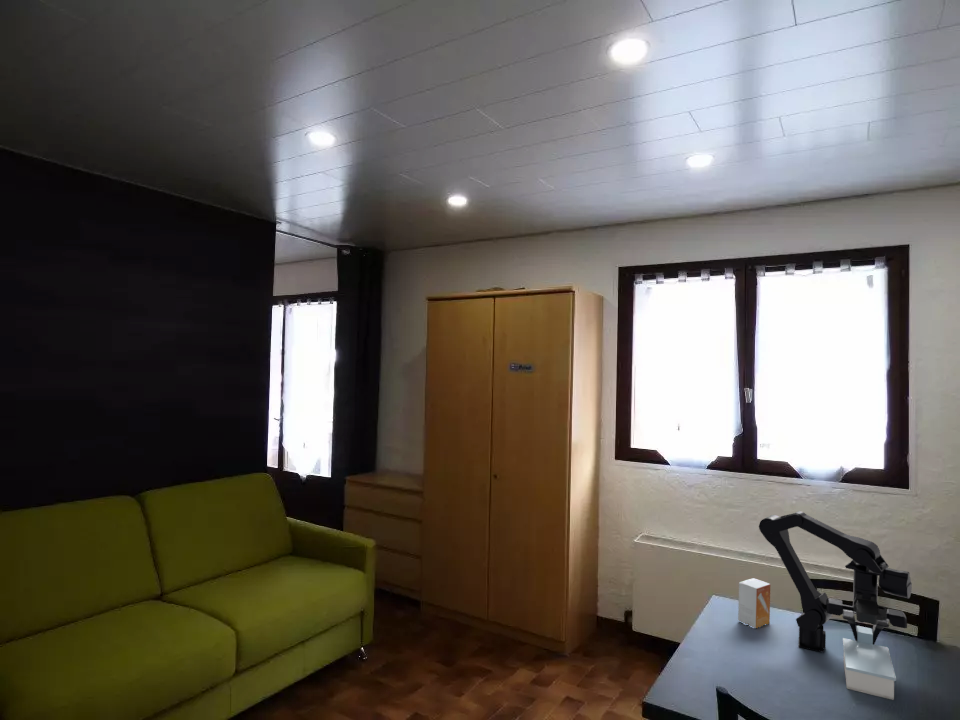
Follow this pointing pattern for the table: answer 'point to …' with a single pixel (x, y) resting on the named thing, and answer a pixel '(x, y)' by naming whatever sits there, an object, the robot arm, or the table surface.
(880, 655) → the lid
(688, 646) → the table surface
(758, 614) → the small box
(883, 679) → the tub
